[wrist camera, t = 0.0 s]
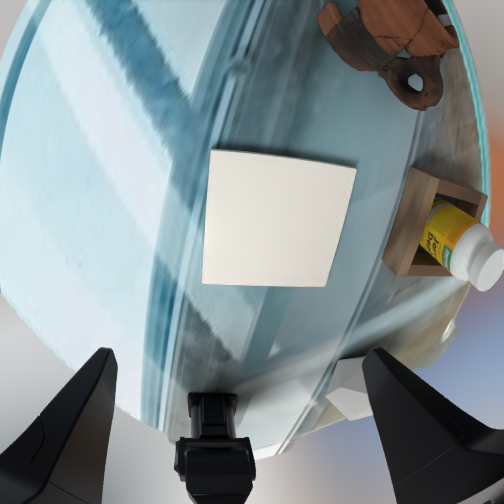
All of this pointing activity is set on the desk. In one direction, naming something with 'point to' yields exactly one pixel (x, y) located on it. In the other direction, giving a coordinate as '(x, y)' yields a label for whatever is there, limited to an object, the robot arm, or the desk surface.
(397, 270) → the walnut holder
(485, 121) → the desk surface
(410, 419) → the robot arm
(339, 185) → the off-white coaster
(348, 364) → the die
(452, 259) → the supplement bottle
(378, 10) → the broken brown clay pot
